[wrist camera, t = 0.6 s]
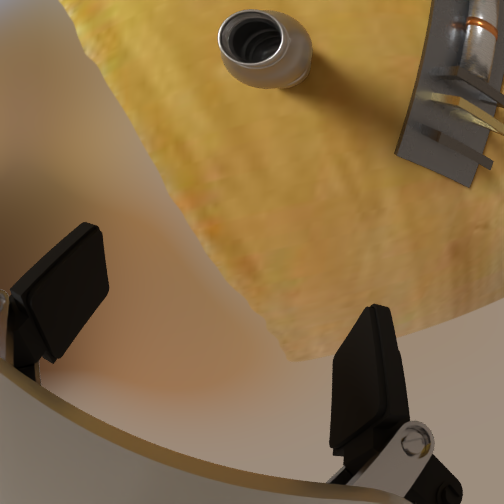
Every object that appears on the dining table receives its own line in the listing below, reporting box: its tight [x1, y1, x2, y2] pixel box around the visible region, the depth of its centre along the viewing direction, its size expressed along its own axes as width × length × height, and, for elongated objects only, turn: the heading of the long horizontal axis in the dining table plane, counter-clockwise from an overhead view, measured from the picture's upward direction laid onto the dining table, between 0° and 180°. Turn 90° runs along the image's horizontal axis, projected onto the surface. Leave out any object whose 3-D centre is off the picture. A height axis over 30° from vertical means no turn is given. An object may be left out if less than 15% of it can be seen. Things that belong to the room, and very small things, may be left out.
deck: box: [394, 0, 504, 188], centre depth 23 cm, size 31×12×1 cm, turn 169°
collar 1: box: [436, 66, 504, 108], centre depth 21 cm, size 1×8×6 cm, turn 79°
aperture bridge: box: [431, 93, 504, 136], centre depth 23 cm, size 1×8×8 cm, turn 79°
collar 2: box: [420, 124, 494, 170], centre depth 26 cm, size 1×8×6 cm, turn 79°
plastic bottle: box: [218, 9, 313, 89], centre depth 21 cm, size 6×7×20 cm
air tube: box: [460, 0, 499, 83], centre depth 17 cm, size 16×4×4 cm, turn 169°
